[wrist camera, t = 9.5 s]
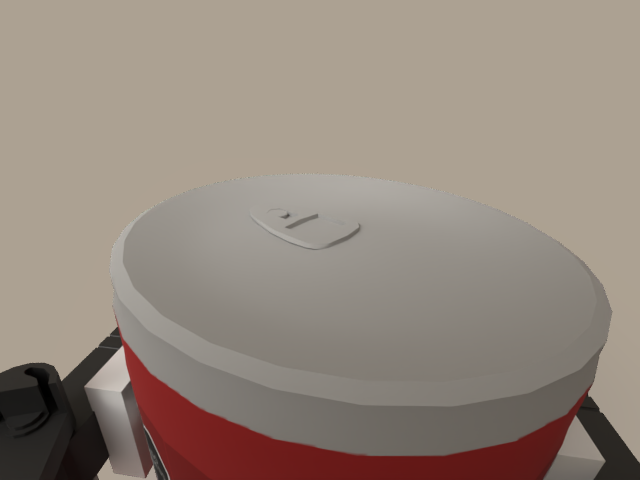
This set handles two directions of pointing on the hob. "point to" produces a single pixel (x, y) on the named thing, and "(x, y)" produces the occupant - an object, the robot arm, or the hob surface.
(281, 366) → the canned food
